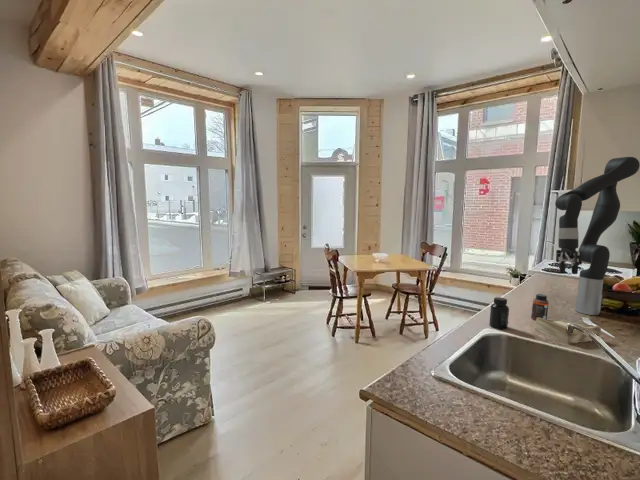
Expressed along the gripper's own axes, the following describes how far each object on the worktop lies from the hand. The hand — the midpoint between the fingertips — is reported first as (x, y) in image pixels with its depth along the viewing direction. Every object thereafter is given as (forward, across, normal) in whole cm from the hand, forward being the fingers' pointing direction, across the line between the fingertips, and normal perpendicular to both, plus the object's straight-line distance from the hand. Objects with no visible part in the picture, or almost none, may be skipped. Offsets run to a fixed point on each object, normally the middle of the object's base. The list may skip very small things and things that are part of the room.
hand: (568, 273), depth 162 cm
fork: (+23, -14, -4) cm, 27 cm away
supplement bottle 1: (+20, -18, +40) cm, 48 cm away
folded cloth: (+22, -24, +16) cm, 36 cm away
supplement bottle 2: (+20, -6, +17) cm, 27 cm away
